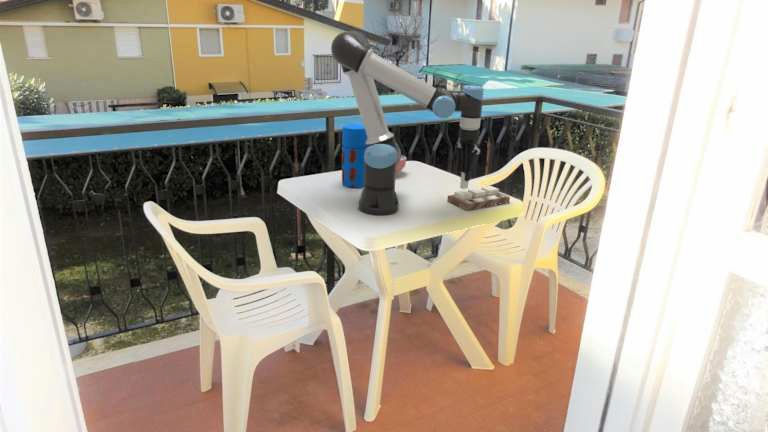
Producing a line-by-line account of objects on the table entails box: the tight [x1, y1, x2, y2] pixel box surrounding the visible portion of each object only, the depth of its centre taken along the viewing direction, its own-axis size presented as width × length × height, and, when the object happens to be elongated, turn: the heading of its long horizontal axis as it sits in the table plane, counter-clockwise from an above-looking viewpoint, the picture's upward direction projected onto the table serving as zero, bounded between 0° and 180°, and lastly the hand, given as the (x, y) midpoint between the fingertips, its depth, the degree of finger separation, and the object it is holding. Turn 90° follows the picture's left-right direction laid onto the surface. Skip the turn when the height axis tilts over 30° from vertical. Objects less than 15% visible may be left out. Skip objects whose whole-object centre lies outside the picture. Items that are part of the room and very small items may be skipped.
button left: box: [453, 189, 472, 201], centre depth 208 cm, size 5×5×2 cm
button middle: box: [467, 187, 486, 198], centre depth 211 cm, size 5×5×2 cm
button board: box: [446, 192, 511, 212], centre depth 211 cm, size 22×12×3 cm, turn 122°
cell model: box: [396, 154, 407, 174], centre depth 241 cm, size 17×20×11 cm
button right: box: [480, 185, 500, 196], centre depth 215 cm, size 5×5×2 cm
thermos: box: [341, 123, 367, 189], centre depth 222 cm, size 11×11×25 cm
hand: (464, 188), depth 207 cm, fingers closed
